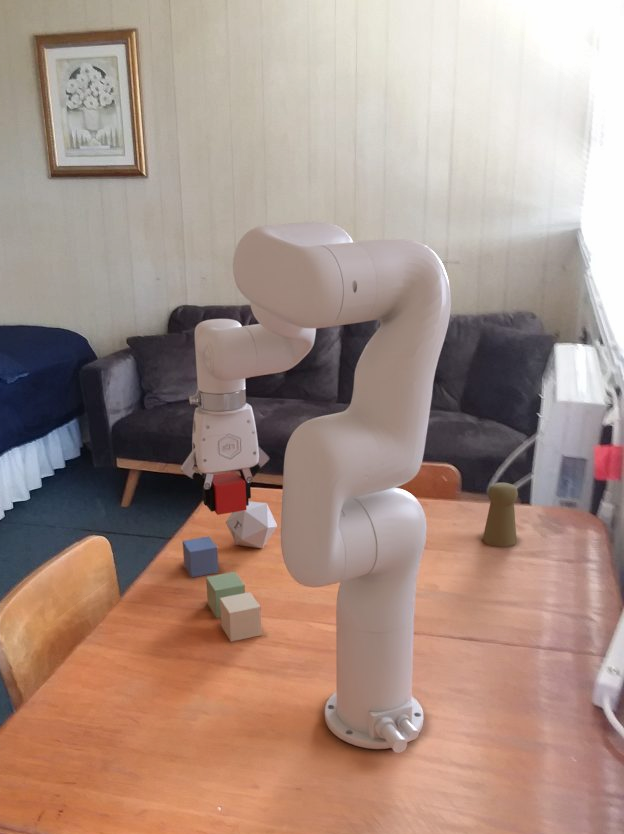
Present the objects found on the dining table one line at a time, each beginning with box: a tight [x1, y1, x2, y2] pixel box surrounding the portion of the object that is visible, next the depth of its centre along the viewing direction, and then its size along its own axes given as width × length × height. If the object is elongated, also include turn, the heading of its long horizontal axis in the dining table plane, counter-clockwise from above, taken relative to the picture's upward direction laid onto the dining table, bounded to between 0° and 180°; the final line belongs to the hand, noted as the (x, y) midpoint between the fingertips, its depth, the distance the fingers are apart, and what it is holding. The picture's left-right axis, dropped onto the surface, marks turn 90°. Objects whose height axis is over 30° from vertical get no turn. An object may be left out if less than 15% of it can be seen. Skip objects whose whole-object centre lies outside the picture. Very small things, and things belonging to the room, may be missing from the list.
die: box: [225, 500, 278, 549], centre depth 158 cm, size 8×9×10 cm
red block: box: [212, 471, 247, 516], centre depth 137 cm, size 5×5×5 cm
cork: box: [482, 482, 519, 548], centre depth 155 cm, size 6×6×11 cm
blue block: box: [182, 535, 219, 578], centre depth 150 cm, size 5×5×5 cm
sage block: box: [205, 571, 246, 619], centre depth 136 cm, size 5×5×5 cm
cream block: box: [220, 591, 263, 643], centre depth 129 cm, size 5×5×5 cm
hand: (227, 504), depth 138 cm, fingers closed on red block, 5 cm apart
